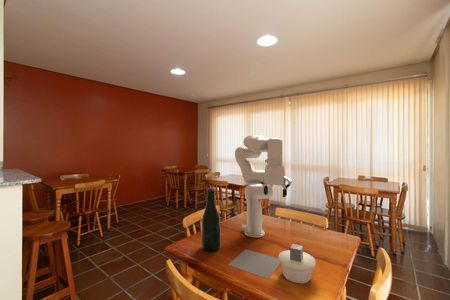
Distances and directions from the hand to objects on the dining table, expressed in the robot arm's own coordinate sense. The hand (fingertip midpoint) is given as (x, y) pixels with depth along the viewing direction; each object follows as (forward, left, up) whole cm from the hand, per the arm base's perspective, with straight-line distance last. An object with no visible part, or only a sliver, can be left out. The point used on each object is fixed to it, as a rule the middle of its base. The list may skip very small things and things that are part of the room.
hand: (275, 195), depth 110 cm
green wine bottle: (-32, -12, -31) cm, 46 cm away
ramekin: (+14, -13, -31) cm, 36 cm away
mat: (-5, -13, -30) cm, 33 cm away
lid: (+14, -13, -24) cm, 30 cm away
